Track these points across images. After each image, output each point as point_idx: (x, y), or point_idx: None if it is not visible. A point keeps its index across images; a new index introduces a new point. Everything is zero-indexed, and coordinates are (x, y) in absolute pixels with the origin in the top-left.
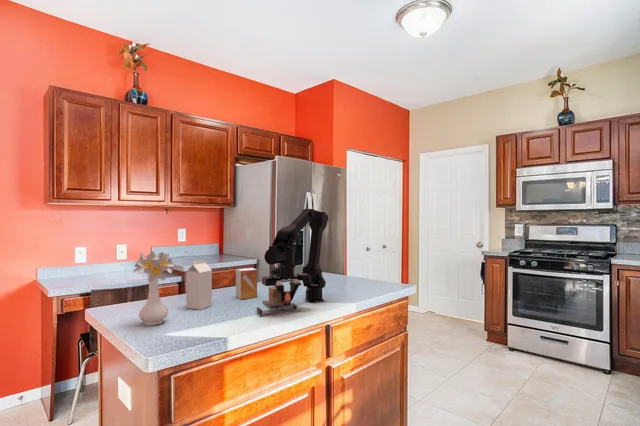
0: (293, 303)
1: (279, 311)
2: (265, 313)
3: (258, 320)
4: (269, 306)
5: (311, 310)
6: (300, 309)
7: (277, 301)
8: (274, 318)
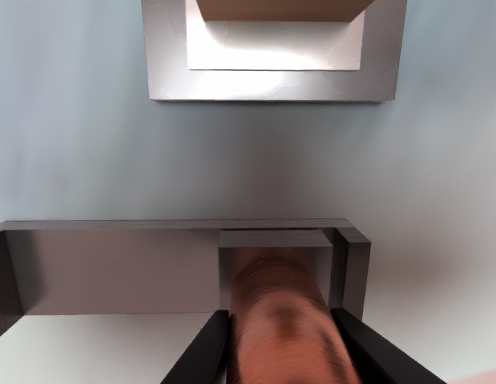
0: (366, 259)
1: (183, 312)
2: (55, 313)
3: (2, 370)
4: (149, 82)
5: (452, 308)
6: (397, 246)
7: (267, 11)
8: (121, 373)
